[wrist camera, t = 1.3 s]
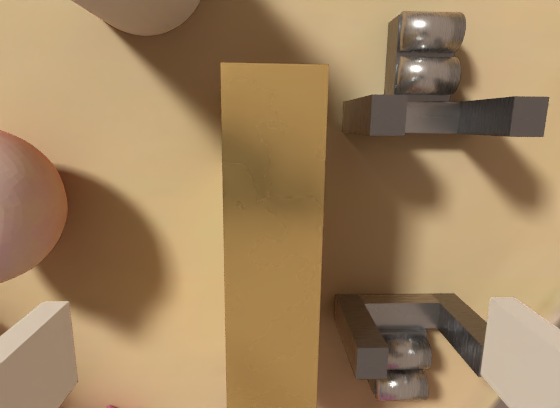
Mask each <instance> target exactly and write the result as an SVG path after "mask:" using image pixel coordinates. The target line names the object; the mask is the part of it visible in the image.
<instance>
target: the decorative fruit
mask: <svg viewBox="0 0 560 408" xmlns="http://www.w3.org/2000/svg"><path fill="white" fill-rule="evenodd" d="M67 213H68V204H67V197H66V192H65V188H64V185H63V182H62V180H61V177H60V175H59V173H58V171H57V169H56V168H55V167H54V165H53V164H52V163H51V162H50V160H49V159H48V158H47V157H46V156H45V155H43V154H42V153H41V152H40V151H39V150H38V149H36V148H35V147H34V146H32V145H31V144H30V143H28V142H26V141H25V140H23V139H21V138H19V137H17V136H14V135H12V134H9V133H6V132H3V131H0V283H2V282H4V281H7V280H10V279H12V278H15V277H17V276H19V275H21V274H23V273H25V272H27V271H28V270H30V269H32V268H33V267H35V266H36V265H37V264H38V263H40V262H41V261H42V260H43V259H44V258H45V257H46V256H47V255H48V254H49V252H50V251H51V250H52V249H53V248H54V246H55V245H56V243H57V241H58V240H59V238H60V236H61V234H62V232H63V229H64V226H65V223H66V219H67Z"/></svg>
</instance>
